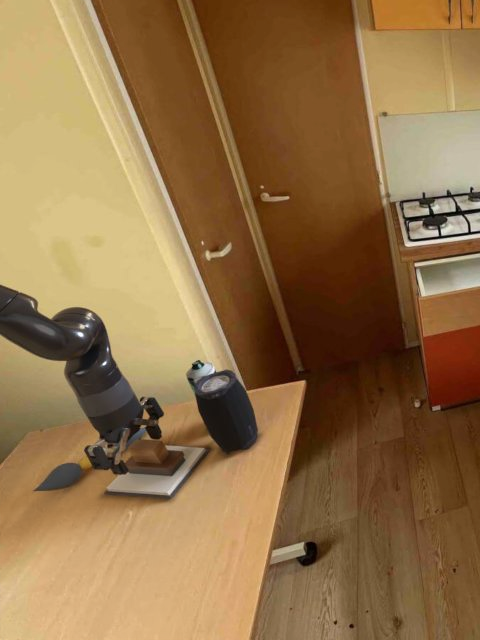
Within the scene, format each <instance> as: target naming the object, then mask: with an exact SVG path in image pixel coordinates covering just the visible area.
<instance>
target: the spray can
mask: <svg viewBox="0 0 480 640" xmlns="http://www.w3.org/2000/svg"><path fill="white" fill-rule="evenodd" d="M216 372H217V371H216V368H215V366H214V365H213V364H212V362H204V361H203V362H202V361H201V360H200V359H197V360H196V361H194V362H192V363H191V367H190V368H189V369H188V370H187V371H186V373H185V376H186V380H187V381H188V384H189V386H190V388H191V390H192V392H193V394H194V395H195V390H194V386H195V384H196V382H197V381H198V380H199V379H200V378H202V377H203V376H206V375H210V374H213V373H216Z"/></svg>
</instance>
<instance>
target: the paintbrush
mask: <svg viewBox="0 0 480 640" xmlns="http://www.w3.org/2000/svg"><path fill="white" fill-rule="evenodd" d="M145 433H147V431H146V429H145V427H140V430H139V431H138V432H137V433H136V434H134V435H133V436H132V438H131V439H130V440H129V441H128V442H127V443H126V448H125V450H127V448H128V447H129V446H130V445H131V444H132V443H133V442H134V441H135V440H136V439H141V437H142V436H143V435H144V434H145ZM118 444H119V443H113V446H115V447H118ZM112 457H114V452H113V455H112ZM90 468H93V466H92V465H91V463H90V461H89V459H88V457H87V455H85V457H83V458H82V459H81V460H80V461H79V462H77V463H76V462H65V463H61V464H59V465H58V466H56V467H55V468H53V469H52V470H51V471H50V472H49V474H48V475H47V476H46V477H45V478H44V480H43V481H42V482H41V483H40V484H39V485H38V486H37V487H36V488H34V489H33V490H32V493H33V492H51V491H58V490H63V489H66V488H69V487H72V485H75V483H77V482H78V481H79V480H80V478H81V476H82V473H83V471H84V470H87V469H90Z"/></svg>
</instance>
